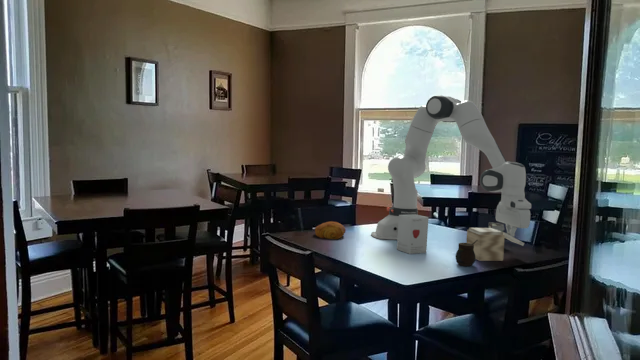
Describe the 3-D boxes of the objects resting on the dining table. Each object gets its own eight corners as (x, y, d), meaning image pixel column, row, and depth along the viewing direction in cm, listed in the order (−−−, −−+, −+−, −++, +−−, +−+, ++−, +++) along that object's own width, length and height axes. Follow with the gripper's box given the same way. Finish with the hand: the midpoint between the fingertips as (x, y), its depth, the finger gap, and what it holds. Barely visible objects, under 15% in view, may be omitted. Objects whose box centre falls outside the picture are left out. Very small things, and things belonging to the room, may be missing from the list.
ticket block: (479, 260, 197) (481, 232, 196) (465, 253, 208) (467, 226, 208) (503, 260, 198) (504, 232, 197) (488, 253, 210) (490, 227, 209)
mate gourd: (453, 262, 192) (455, 236, 192) (473, 263, 192) (475, 237, 191) (456, 266, 185) (458, 239, 184) (477, 268, 184) (479, 241, 184)
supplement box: (409, 254, 203) (411, 217, 202) (396, 249, 211) (398, 214, 210) (427, 253, 207) (429, 216, 206) (413, 248, 215) (415, 213, 214)
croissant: (346, 239, 242) (348, 222, 242) (342, 240, 227) (344, 222, 227) (317, 236, 244) (318, 219, 245) (311, 237, 229) (312, 219, 230)
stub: (503, 235, 199) (505, 232, 199) (492, 231, 208) (493, 228, 208) (523, 245, 201) (524, 243, 201) (511, 241, 210) (512, 238, 210)
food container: (505, 249, 221) (507, 227, 220) (490, 248, 222) (492, 225, 221) (501, 244, 233) (502, 222, 232) (487, 243, 234) (488, 221, 234)
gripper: (492, 199, 213) (490, 231, 214) (519, 204, 193) (516, 240, 194) (506, 199, 214) (504, 231, 215) (534, 205, 194) (532, 240, 195)
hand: (510, 235), depth 204 cm, fingers closed, pressing on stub
